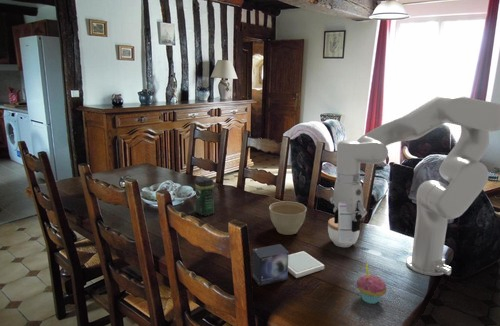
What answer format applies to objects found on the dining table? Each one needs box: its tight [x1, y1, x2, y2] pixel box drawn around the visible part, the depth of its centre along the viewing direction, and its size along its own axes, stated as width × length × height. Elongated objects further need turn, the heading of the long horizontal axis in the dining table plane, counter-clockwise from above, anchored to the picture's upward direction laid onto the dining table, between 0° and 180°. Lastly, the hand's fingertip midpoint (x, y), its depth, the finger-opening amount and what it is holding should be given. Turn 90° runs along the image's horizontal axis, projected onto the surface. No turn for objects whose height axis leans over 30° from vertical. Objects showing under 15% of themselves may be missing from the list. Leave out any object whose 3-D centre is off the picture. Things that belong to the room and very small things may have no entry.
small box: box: [251, 243, 290, 287], centre depth 116 cm, size 11×6×10 cm, turn 114°
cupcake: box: [356, 261, 387, 305], centre depth 105 cm, size 9×8×12 cm
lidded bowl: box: [327, 217, 361, 248], centre depth 141 cm, size 13×13×11 cm
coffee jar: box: [194, 175, 215, 216], centre depth 173 cm, size 10×8×19 cm
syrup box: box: [338, 202, 357, 245], centre depth 120 cm, size 6×6×14 cm
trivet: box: [288, 250, 325, 279], centre depth 125 cm, size 12×12×2 cm
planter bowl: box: [268, 201, 307, 236], centre depth 153 cm, size 16×16×11 cm
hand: (346, 226), depth 121 cm, fingers closed on syrup box, 7 cm apart
